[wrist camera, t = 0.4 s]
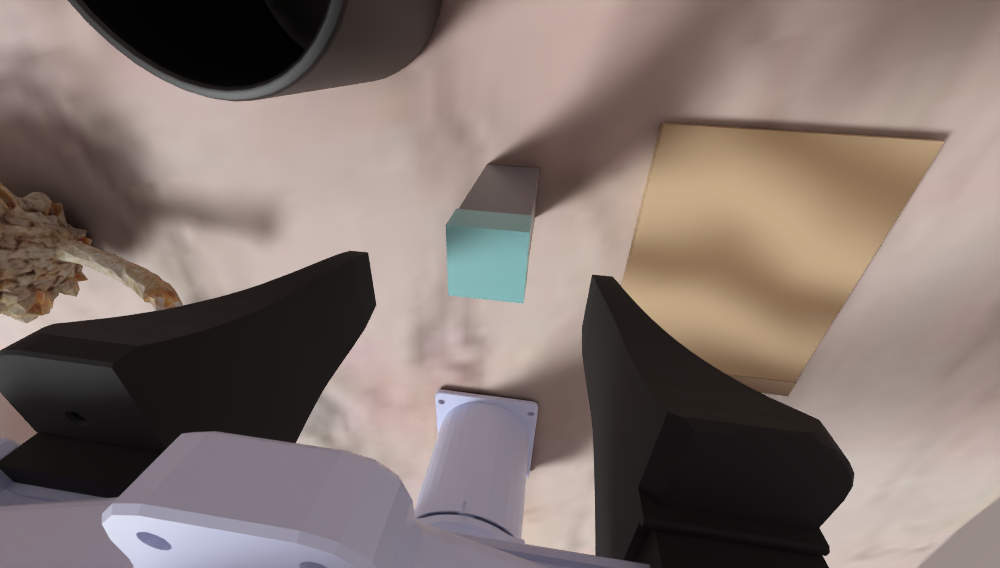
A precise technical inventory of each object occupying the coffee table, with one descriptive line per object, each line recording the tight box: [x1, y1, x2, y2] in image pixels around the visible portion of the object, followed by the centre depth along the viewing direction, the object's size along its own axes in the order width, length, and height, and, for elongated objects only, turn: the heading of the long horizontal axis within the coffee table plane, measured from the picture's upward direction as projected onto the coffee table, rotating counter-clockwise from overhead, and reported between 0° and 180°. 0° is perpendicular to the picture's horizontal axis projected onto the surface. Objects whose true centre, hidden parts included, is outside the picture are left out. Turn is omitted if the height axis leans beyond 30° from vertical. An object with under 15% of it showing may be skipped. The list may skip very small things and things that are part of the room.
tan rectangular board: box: [621, 122, 944, 396], centre depth 22 cm, size 16×12×1 cm
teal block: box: [446, 164, 539, 303], centre depth 17 cm, size 3×3×9 cm
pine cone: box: [0, 183, 183, 323], centre depth 22 cm, size 22×10×10 cm, turn 87°
